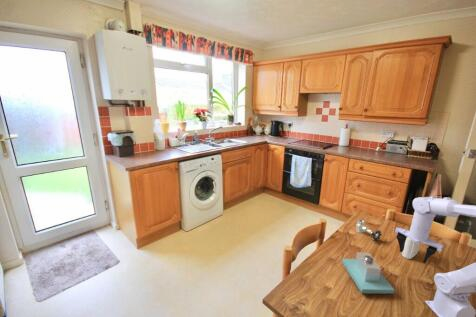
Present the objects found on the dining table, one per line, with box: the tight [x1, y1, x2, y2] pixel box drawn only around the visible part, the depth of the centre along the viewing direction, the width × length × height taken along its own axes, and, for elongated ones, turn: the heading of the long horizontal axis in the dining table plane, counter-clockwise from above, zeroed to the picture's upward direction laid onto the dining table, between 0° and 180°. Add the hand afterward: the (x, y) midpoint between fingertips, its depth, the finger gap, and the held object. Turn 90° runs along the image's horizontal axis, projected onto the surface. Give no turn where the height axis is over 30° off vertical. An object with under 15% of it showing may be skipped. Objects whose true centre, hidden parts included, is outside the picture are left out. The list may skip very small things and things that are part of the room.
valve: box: [355, 218, 382, 242], centre depth 118 cm, size 7×7×12 cm
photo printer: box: [401, 237, 421, 260], centre depth 103 cm, size 10×4×12 cm, turn 123°
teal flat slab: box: [341, 258, 395, 295], centre depth 88 cm, size 16×12×3 cm
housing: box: [355, 251, 382, 282], centre depth 87 cm, size 5×9×7 cm, turn 175°
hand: (412, 256), depth 87 cm, fingers open, 7 cm apart
